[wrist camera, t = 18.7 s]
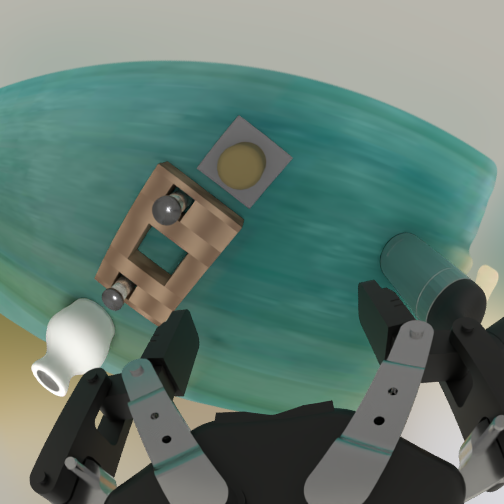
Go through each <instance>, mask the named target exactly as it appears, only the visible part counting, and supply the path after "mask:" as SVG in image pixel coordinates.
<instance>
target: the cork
mask: <svg viewBox="0 0 504 504" xmlns="http://www.w3.org/2000/svg"><path fill="white" fill-rule="evenodd" d="M265 168H266V157H265V154H264V152H263V150H262V149H261V148H260V147H259V146H258V145H256V144H254V143H251V142H240V143H237V144H235V145H233V146H231V147H229V148H227V149H225V150H224V152H223V153H222V154H221V155H220V157H219V159H218V163H217V171H218V175H219V177H220V179H221V180H222V182H223V183H224V184H226V185H227V186H228V187H230V188H233V189H237V190H243V189H248V188H250V187H252V186H254V185H255V184H256V183H257V182H258V181H259V180H260V178H261V176H262V174H263V172H264V170H265Z"/></svg>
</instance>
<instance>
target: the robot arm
mask: <svg viewBox="0 0 504 504" xmlns="http://www.w3.org/2000/svg"><path fill="white" fill-rule="evenodd" d="M380 264H381V269H382V272H383V273H384V275H385V276H386V277H387V279H388V280H389V281H390V282H391V284H392V285H393V286H394V287H395V289H396V290H397V291H398V293H399V294H400V295H401V296H402V298H403V299H404V300H405V302H406V303H407V304H408V306H409V307H410V308H411V310H412V311H413V312H414V314H415V315H416V316H417V318H418V319H419V320H420V321H419V320H416V319H415V318H414V317H413V315H412V314H411V313H410V311H409V310H408V309H407V307H406V306H405V305H404V304H403V302H402V301H401V300H400V298H399V297H398V296H397V295H396V293H395V292H393V291H391V290H390V289H388V288H383V289H381V287H380V286H379V285H378V283H377V282H376V281H375V280H370V281H366V282H361V283H359V285H358V311H359V319H360V323H361V325H362V327H363V329H364V332H365V334H366V336H367V338H368V340H369V342H370V344H371V346H372V349H373V351H374V353H375V355H376V357H377V360H378V362H379V364H380V367H379V369H378V371H377V373H376V375H375V377H374V379H373V381H372V383H371V385H370V387H369V389H368V391H367V393H366V395H365V397H364V398H363V400H362V402H361V404H360V405H359V407H358V409H357V411H352V410H348V409H341V408H334V406H333V401H332V400H331V401H326V402H321V403H315V404H309V405H303V406H300V407H297V408H294V409H291V410H288V411H285V412H282V413H279V414H275V415H266V414H258V413H250V412H223V413H216V416H215V421H212V422H208V423H206V424H203V425H201V426H199V427H197V428H195V429H194V430H192V431H191V430H190V428H189V427H188V425H187V424H186V422H185V420H184V419H183V417H182V416H181V414H180V412H179V411H178V409H177V407H176V406H175V404H174V402H173V398H174V396H184V394H185V391H186V387H187V384H188V381H189V377H190V374H191V371H192V368H193V365H194V361H195V358H196V355H197V352H198V349H199V337H198V333H197V331H196V328H195V325H194V323H193V320H192V317H191V314H190V312H189V311H188V310H187V309H186V310H177V311H172V312H171V314H170V316H169V318H168V320H167V321H166V322H163V323H162V324H161V325H160V326H159V327H158V328H157V329H156V331H155V333H154V334H153V336H152V338H151V340H150V342H149V343H148V345H147V347H146V349H145V351H144V353H143V354H142V356H141V358H140V359H136V360H133V361H131V362H129V363H128V364H127V365H126V366H125V367H124V368H123V370H122V373H121V374H116V375H111V376H108V375H107V374H106V372H105V370H104V369H102V368H94V369H91V370H89V371H87V372H86V373H85V374H84V375H83V376H82V378H81V379H80V381H79V382H78V384H77V386H76V388H75V389H74V391H73V393H72V395H71V397H70V398H69V400H68V401H67V403H66V405H65V407H64V408H63V410H62V412H61V414H60V416H59V417H58V419H57V421H56V423H55V425H54V427H53V429H52V431H51V433H50V435H49V437H48V438H47V440H46V442H45V444H44V446H43V448H42V450H41V453H40V455H39V457H38V459H37V461H36V463H35V465H34V468H33V470H32V472H31V474H30V485H31V487H32V489H33V490H34V491H35V492H37V493H38V494H40V495H41V496H43V497H44V498H46V499H47V500H49V501H50V502H51V503H52V504H464V503H465V502H467V501H469V500H470V499H472V498H474V497H476V496H478V495H480V494H481V493H483V492H485V491H487V492H493V491H496V490H498V489H499V488H501V487H502V486H503V485H504V317H503V318H502V319H500V320H499V321H497V322H496V323H494V324H493V325H491V326H490V327H489V328H487V329H486V330H485V329H484V328H483V327H482V325H481V322H482V319H483V317H484V314H485V310H486V296H485V293H484V292H483V290H482V289H481V288H480V287H479V286H478V285H477V284H476V283H475V282H473V281H472V280H471V279H470V278H469V277H468V276H467V275H465V274H464V273H463V272H462V271H460V270H459V269H458V268H457V267H456V266H454V265H453V264H452V263H451V262H449V261H448V260H447V259H446V258H444V257H443V256H442V255H441V254H439V253H438V252H437V251H435V250H434V249H433V248H431V247H430V246H429V245H427V244H426V243H425V242H424V241H422V240H421V239H419V238H418V237H417V236H415V235H413V234H411V233H402V234H399V235H397V236H395V237H393V238H392V239H391V240H390V241H389V242H388V243H387V244H386V246H385V248H384V249H383V252H382V255H381V260H380ZM427 382H439V383H440V386H441V388H442V390H443V392H444V394H445V396H446V398H447V400H448V403H449V405H450V407H451V409H452V412H453V414H454V416H455V419H456V421H457V423H458V426H459V428H460V431H461V433H462V436H463V438H464V441H465V442H464V443H463V444H462V446H461V448H460V451H459V461H460V466H459V469H457V468H456V467H455V466H454V465H452V464H451V463H449V462H447V461H445V460H443V459H441V458H439V457H437V456H435V455H433V454H431V453H429V452H428V451H426V450H424V449H422V448H420V447H418V446H416V445H415V444H413V443H411V442H409V441H407V440H406V439H404V438H402V437H400V436H401V434H402V431H403V429H404V427H405V424H406V422H407V419H408V417H409V414H410V412H411V409H412V406H413V403H414V401H415V398H416V395H417V392H418V389H419V386H420V383H427ZM99 410H101V412H102V413H103V414H104V415H103V417H102V419H101V422H100V424H99V426H98V429H96V427H95V418H96V416H97V414H98V412H99ZM133 420H134V423H135V425H136V428H137V430H138V432H139V435H140V437H141V440H142V442H143V444H144V447H145V449H146V451H147V453H148V455H149V458H150V460H151V462H152V463H150V464H149V465H148V466H146V467H145V468H144V469H142V470H141V471H140V472H138V473H137V474H135V475H134V476H133V477H132V478H130V479H129V480H127V481H126V482H124V483H123V484H121V485H120V486H118V487H117V486H116V481H115V479H114V476H115V473H116V470H117V467H118V463H119V460H120V457H121V453H122V451H123V448H124V445H125V441H126V438H127V436H128V433H129V430H130V427H131V424H132V421H133Z"/></svg>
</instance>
